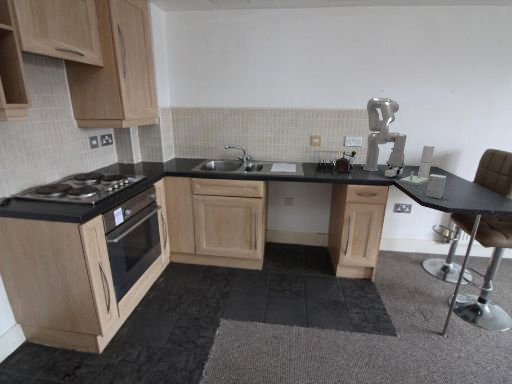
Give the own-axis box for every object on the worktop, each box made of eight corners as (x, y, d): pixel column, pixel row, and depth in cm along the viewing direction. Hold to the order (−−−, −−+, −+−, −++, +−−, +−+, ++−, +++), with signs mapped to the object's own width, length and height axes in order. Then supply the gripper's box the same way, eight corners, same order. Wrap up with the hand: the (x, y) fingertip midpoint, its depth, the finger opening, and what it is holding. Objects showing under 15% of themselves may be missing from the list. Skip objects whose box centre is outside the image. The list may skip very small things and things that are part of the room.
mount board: (399, 182, 206) (401, 171, 204) (411, 177, 220) (413, 167, 218) (416, 185, 198) (419, 174, 195) (428, 181, 211) (430, 170, 209)
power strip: (384, 175, 216) (385, 171, 214) (396, 171, 228) (397, 167, 227) (390, 176, 212) (391, 172, 211) (402, 173, 224) (403, 168, 223)
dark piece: (334, 171, 237) (336, 149, 232) (337, 169, 247) (339, 148, 241) (353, 173, 230) (356, 151, 225) (355, 171, 240) (358, 150, 235)
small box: (442, 196, 173) (447, 176, 169) (440, 198, 169) (444, 177, 165) (427, 193, 178) (431, 173, 175) (425, 195, 174) (429, 175, 170)
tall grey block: (422, 179, 217) (429, 146, 210) (415, 176, 224) (421, 145, 217) (430, 178, 219) (436, 146, 212) (422, 176, 226) (429, 145, 219)
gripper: (385, 149, 218) (380, 172, 224) (407, 152, 206) (402, 176, 211) (389, 148, 222) (385, 170, 228) (412, 151, 210) (407, 175, 216)
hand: (393, 173), depth 220 cm, fingers closed on power strip, 5 cm apart
